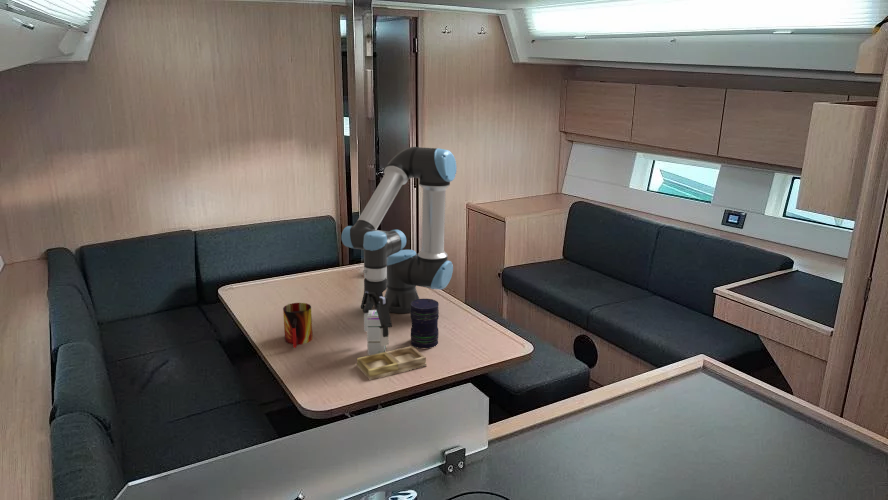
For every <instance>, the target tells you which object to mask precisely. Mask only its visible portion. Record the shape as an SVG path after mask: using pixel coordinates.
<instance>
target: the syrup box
mask: <svg viewBox="0 0 888 500" xmlns="http://www.w3.org/2000/svg"><path fill="white" fill-rule="evenodd" d="M366 320H367V331H366V338H367V339H366V342H367V346H366V347H367V356H369V355H374V354H378V353H383V352H387V351H386V350H387V345H384V346H380V328H379V327H380V326H381V323H380V320H379V317H378V313H377V310H376V309H372V310H369V311H368V314H367V316H366Z"/></svg>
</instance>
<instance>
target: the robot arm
mask: <svg viewBox="0 0 888 500" xmlns="http://www.w3.org/2000/svg"><path fill="white" fill-rule="evenodd" d="M383 173H384V175H383V177H382V178H381V179H380V182H379V184H378V185H377V187H376V188H375V190H374V191H373V194H372V195H371V197H370V199H369V200H368V202H367V203H366V205H365V207H364V209H363V210H362V212H361V214H360V215H359V217H358V219H357V221H355V223H354V225H347V226H345V227H344V228H343V230H342V232H341V242H342V244H343V246H345V248H346V247H347V248H351V249H355V250H363V270H362V273H363V277H364V280H363V286H364V287H363V296H362V299H361V300H362V301H361V305H360V309H361V310H362V312H363V331H364V332H367V320H366V316H367V314H368V311H369V310H373V308H374V310H377V313H378V317H379V320H380V323H381V326H380V327H379V328H380V346H384V345H386V346H389V343H390V342H389V338H390V337H389V334H390V333H389V328H392V326H393V325H392V319H391V313H394V314H409V313H411V302H412V301H414V300H417V299H420V297H419V294H418V291H417V287H421V288H427V289H431V290H439V291H440V290H444V289H445V288H446V287H447V286H448V285H449V283H450V281H451V279H452V276H453V272H454V265H453V261H451V260H449V259H448V253H447V252H446V251H445V228H446V227H445V224H446V222H445V221H446V192H447V191H446V190H447V189H448V188H449V187H450V186H451V182H453V181H454V180H455V178H456V174H457V161H456V157H455V156H454V154H453V153H452V152H451V151H450V150H449V149H443V148H439V147H437V148H436V147H419V146H411V147H407V148H405V149H403V150H401V151H400V152H398V153H397V154H396V155H395V156H393V158H392V159H390V161H388V163H387V165H386V166H385V167H384V170H383ZM410 179H418V186H420V187H421V188H422V214H421V215H422V216H421V217H422V218H421V221H422V222H421V249H420V251H419V252H418V253H417V252H416V251H415V250H414V249H404V248H405V247H406V245H407V237H406V235H405V233H404V232H403V231H401V230H400V229H391V230H390V231H388V230H387V231H386V230H381V229H380V230H379V229H378V228H379V226H380V225H381V223H382V221H383V219H384V217H385V216H386V214H387V212H388V211H389V208H390V207H391V206H392V204H393V202H394V200H395V198H396V197H397V195H398V193H399V191H400V190H401V188H402V186H403V185H406V184H407V183H408V181H409V180H410ZM386 277H387V278H386ZM384 291H385V293H384V294H383V292H384Z"/></svg>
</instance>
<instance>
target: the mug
mask: <svg viewBox="0 0 888 500" xmlns="http://www.w3.org/2000/svg"><path fill="white" fill-rule="evenodd" d="M282 312H283V324H284V326H283V327H284V341H285V343H287V344H289V345H292V346H293V347H292V348H294V349H296V348H297V346H298V345H304V344H308V343H309V342H311V341H312V340H313V337H314V336H313V324H312V323H313V320H312V305H311V304H309V303H306V302H293V303H288V304H286V305H284V306H283V307H282Z"/></svg>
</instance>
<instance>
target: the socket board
mask: <svg viewBox="0 0 888 500" xmlns="http://www.w3.org/2000/svg"><path fill="white" fill-rule="evenodd" d="M356 361H357V362H356V367H357V368H358V369H359V370H360V371H361V373H363V374H364V376H365V377H367V378H368V380H369V381H373V380H376V379H377V380H378V379H381V378H384V377H385V378H386V377H389V376H393V375H397V374H402V373H404V372H405V373H406V372H410V371H412V369H414V370H417V369H416V368H418V369H421V368H420V367H422V368H424V367H423V366H426V367H427V357H426V356H425V355H424V354H422V353H421V352H420V351H419V350H417V348H416V347H414V346H412V345H410V346H405V347H401V348H397V349H393V350H388V351H385V352H383V353H378V354H374V355H365V356H361V357H357V358H356ZM409 370H410V371H409Z"/></svg>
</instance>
